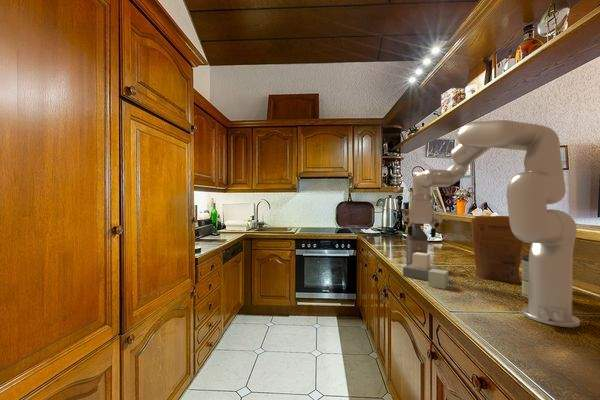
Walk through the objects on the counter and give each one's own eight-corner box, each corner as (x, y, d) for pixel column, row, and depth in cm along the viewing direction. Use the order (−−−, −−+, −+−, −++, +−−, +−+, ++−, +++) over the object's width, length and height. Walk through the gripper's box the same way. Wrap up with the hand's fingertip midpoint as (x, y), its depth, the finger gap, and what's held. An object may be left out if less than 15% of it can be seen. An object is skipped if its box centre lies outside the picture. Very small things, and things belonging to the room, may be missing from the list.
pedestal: (431, 281, 119) (431, 271, 119) (403, 276, 127) (403, 267, 127) (438, 275, 128) (438, 266, 128) (411, 271, 136) (412, 262, 136)
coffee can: (545, 293, 104) (545, 255, 104) (567, 303, 94) (567, 261, 94) (514, 292, 106) (515, 254, 106) (533, 301, 95) (533, 260, 95)
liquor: (428, 270, 139) (428, 209, 139) (409, 269, 141) (409, 209, 141) (423, 265, 148) (424, 209, 148) (405, 265, 150) (405, 208, 150)
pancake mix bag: (524, 285, 114) (525, 216, 114) (470, 277, 126) (470, 215, 126) (525, 282, 119) (525, 216, 119) (472, 274, 131) (473, 214, 131)
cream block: (426, 269, 123) (426, 255, 123) (412, 267, 127) (412, 253, 127) (430, 266, 128) (430, 253, 128) (416, 264, 132) (416, 252, 132)
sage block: (444, 289, 108) (444, 273, 109) (428, 286, 112) (428, 271, 112) (448, 285, 113) (448, 270, 113) (432, 283, 117) (432, 268, 117)
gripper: (444, 198, 125) (444, 237, 125) (405, 199, 136) (405, 234, 136) (440, 198, 119) (439, 238, 119) (399, 198, 130) (399, 235, 130)
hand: (421, 236), depth 128 cm, fingers open, 9 cm apart
